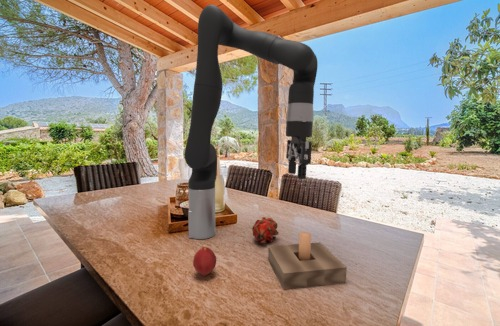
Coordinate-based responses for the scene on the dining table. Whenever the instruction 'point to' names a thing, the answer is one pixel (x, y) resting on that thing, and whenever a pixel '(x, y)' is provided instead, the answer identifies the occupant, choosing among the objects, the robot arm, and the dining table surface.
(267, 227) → the dragon fruit
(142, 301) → the dining table surface
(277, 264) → the hole block
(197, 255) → the onion
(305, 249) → the peg
